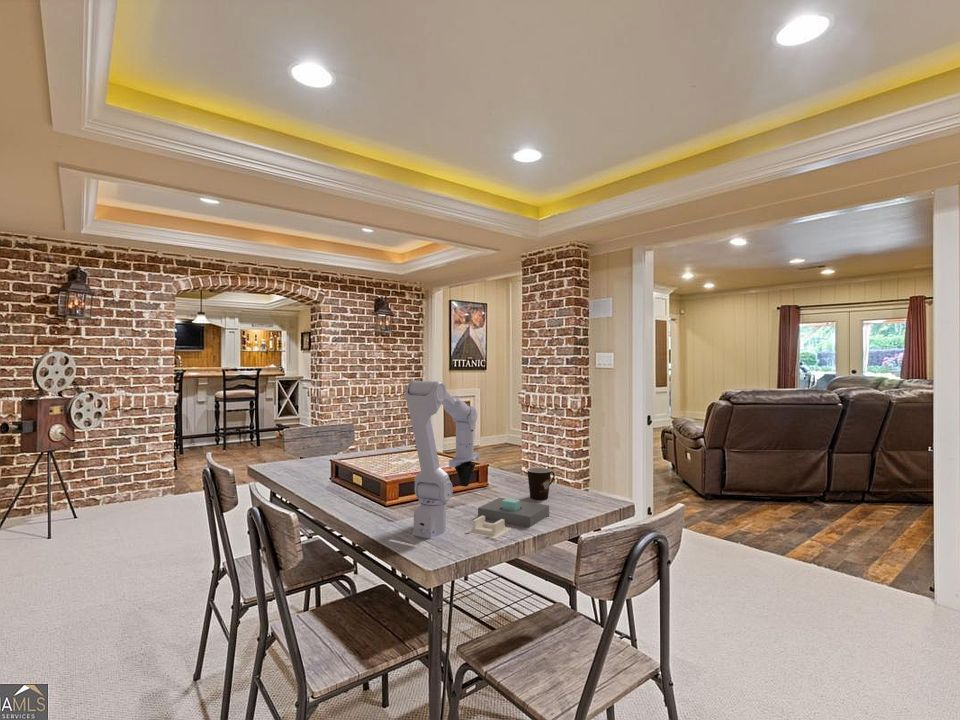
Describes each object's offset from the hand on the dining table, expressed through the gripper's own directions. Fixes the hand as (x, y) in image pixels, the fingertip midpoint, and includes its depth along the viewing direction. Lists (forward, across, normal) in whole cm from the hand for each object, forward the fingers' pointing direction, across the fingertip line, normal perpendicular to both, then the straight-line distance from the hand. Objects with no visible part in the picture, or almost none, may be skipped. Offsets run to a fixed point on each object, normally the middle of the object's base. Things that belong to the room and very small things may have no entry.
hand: (464, 485), depth 166 cm
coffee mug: (+10, +33, -12) cm, 37 cm away
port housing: (+9, +6, -15) cm, 18 cm away
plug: (+9, +4, -15) cm, 18 cm away
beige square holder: (+9, -10, -15) cm, 20 cm away
